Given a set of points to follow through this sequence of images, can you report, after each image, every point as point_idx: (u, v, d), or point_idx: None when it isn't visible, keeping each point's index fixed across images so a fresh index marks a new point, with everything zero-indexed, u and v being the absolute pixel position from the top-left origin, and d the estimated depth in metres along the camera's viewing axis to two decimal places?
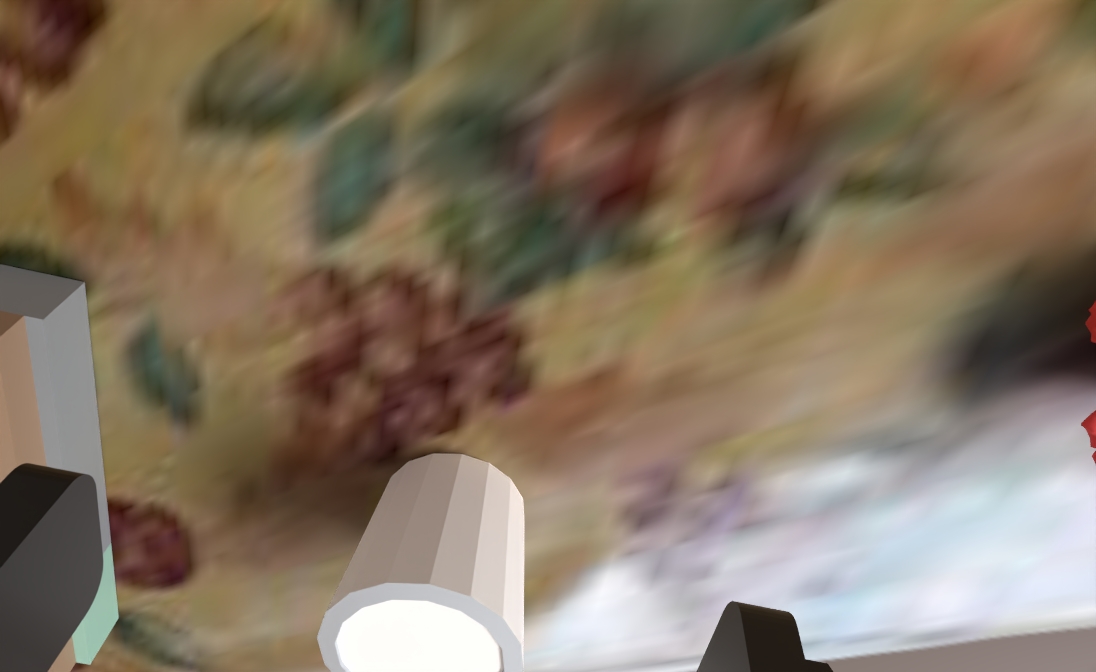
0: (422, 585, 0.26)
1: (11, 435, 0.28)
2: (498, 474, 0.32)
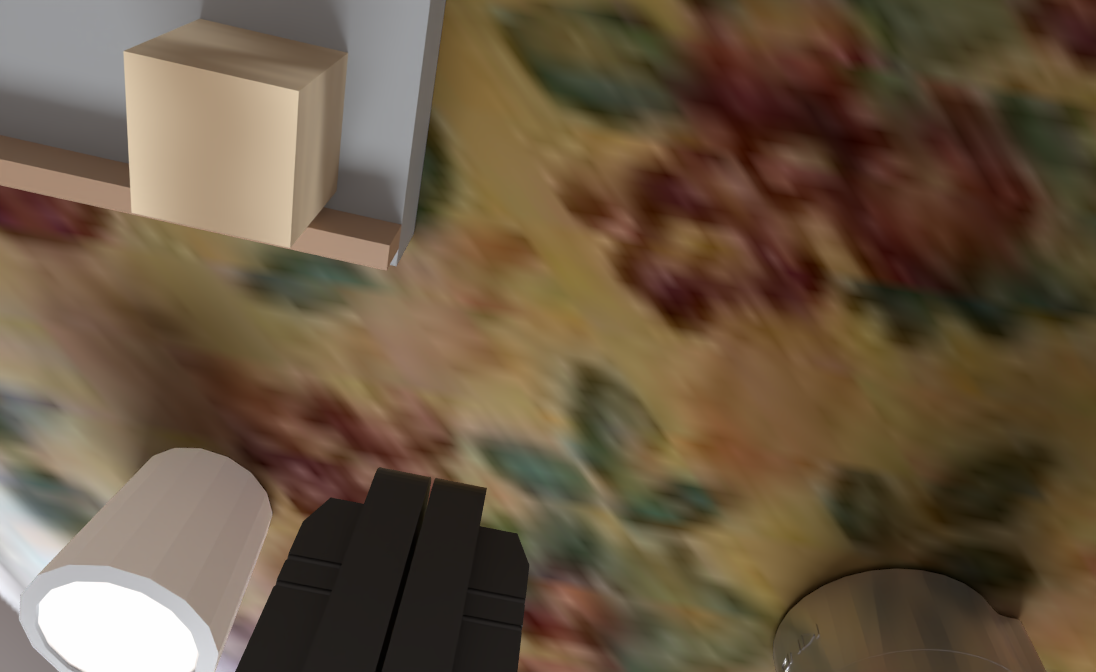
0: (214, 648, 0.29)
1: (254, 240, 0.24)
2: None
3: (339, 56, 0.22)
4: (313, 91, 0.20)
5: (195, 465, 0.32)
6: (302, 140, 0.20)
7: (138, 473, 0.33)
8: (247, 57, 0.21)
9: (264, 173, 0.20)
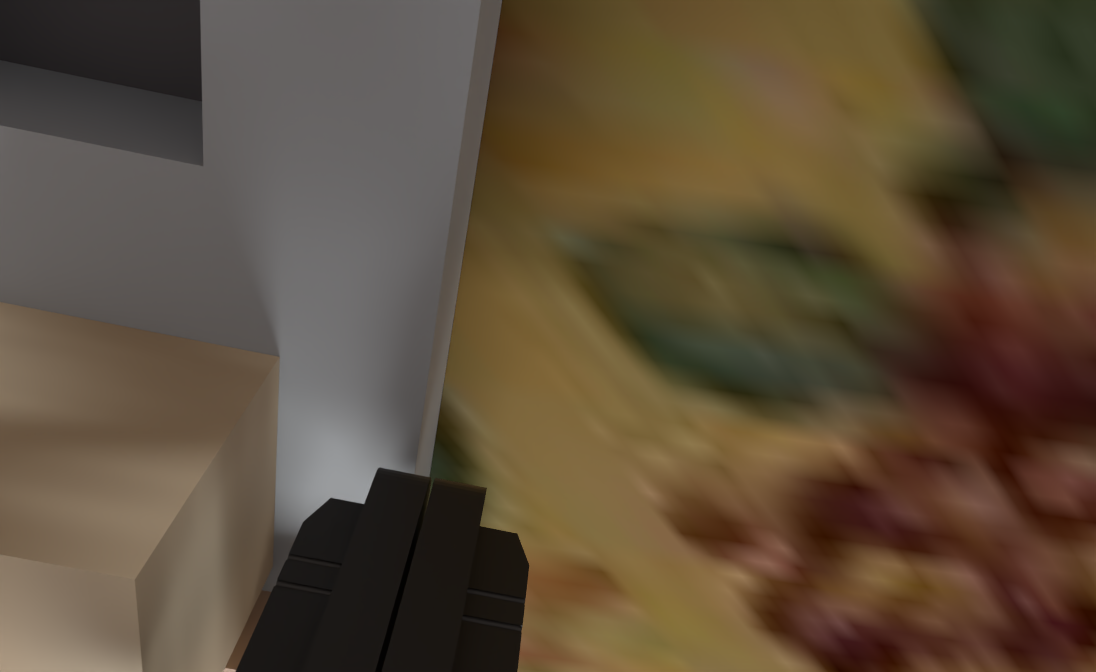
0: None
1: None
2: None
3: (258, 378, 0.11)
4: (186, 522, 0.09)
5: None
6: (164, 633, 0.09)
7: None
8: (41, 441, 0.09)
9: None
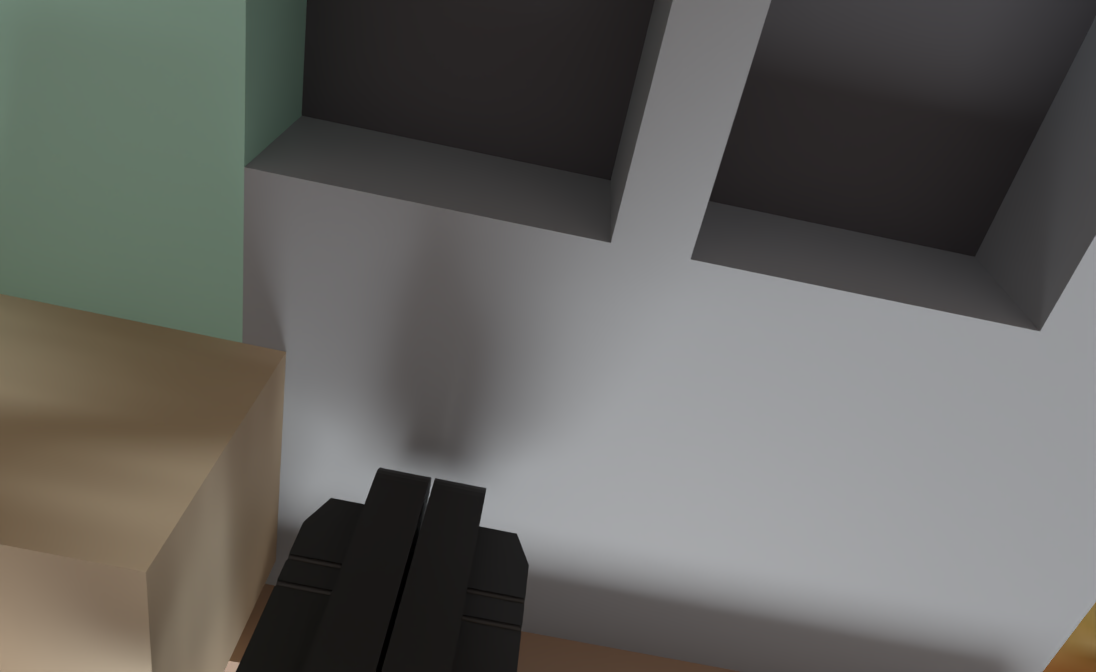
0: None
1: None
2: None
3: (266, 373, 0.11)
4: (195, 515, 0.09)
5: None
6: (172, 625, 0.09)
7: None
8: (51, 434, 0.09)
9: None
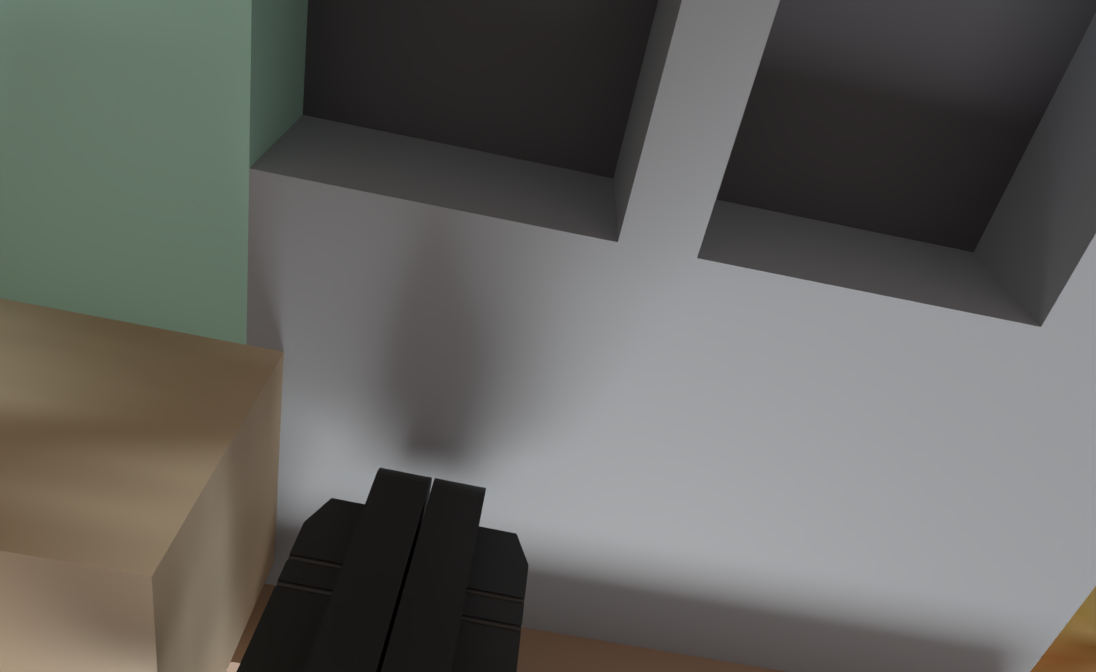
0: None
1: None
2: None
3: (264, 374, 0.11)
4: (199, 517, 0.09)
5: None
6: (177, 629, 0.09)
7: None
8: (49, 438, 0.09)
9: None
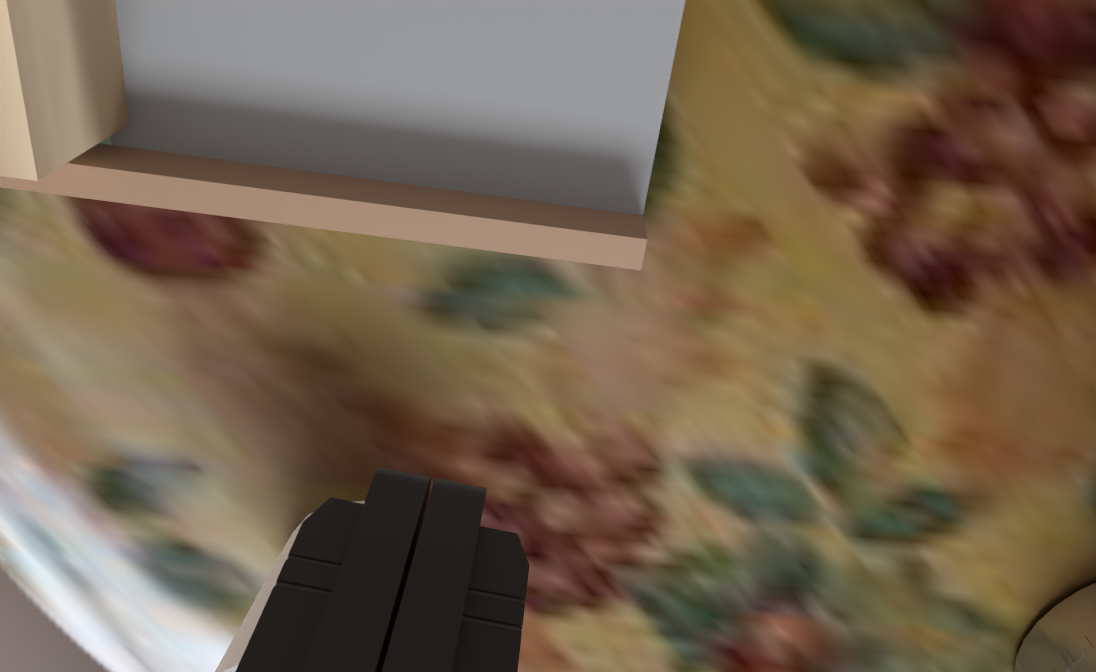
0: None
1: (481, 249, 0.20)
2: None
3: None
4: None
5: None
6: (28, 37, 0.16)
7: None
8: None
9: None
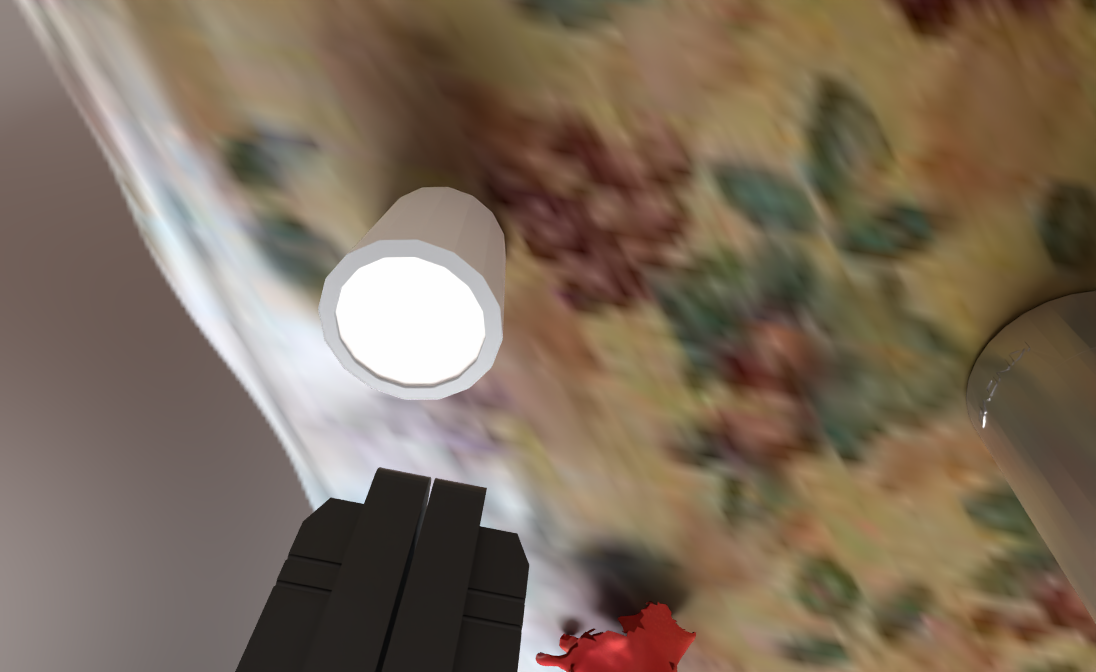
0: (499, 333, 0.31)
1: None
2: None
3: None
4: None
5: (449, 195, 0.35)
6: None
7: (396, 204, 0.35)
8: None
9: None
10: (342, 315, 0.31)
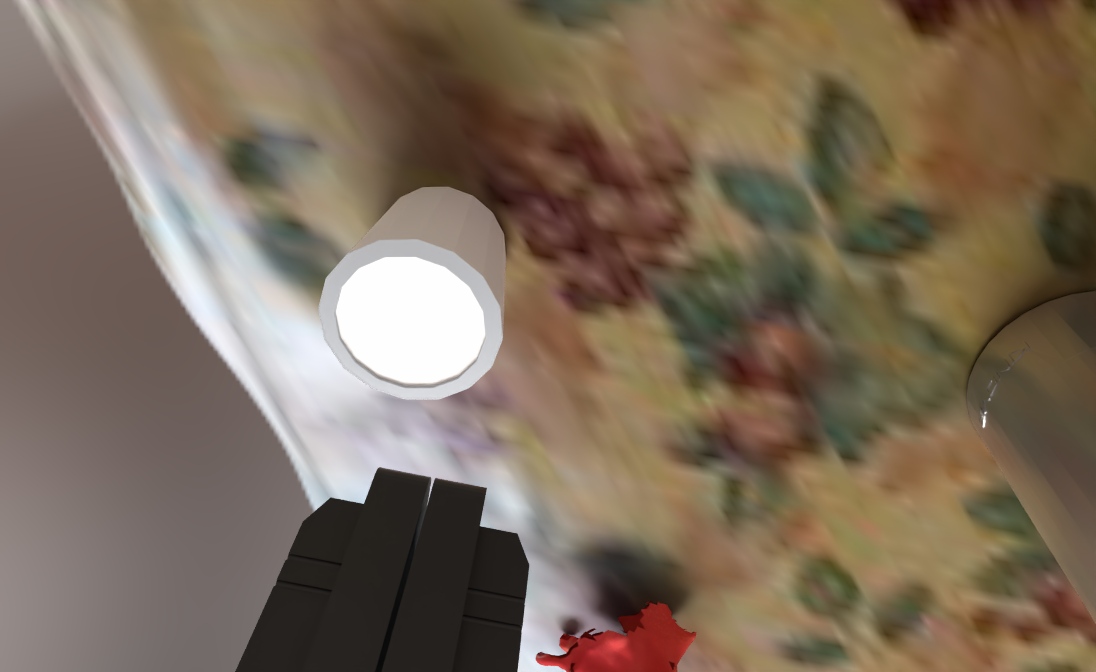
0: (499, 333, 0.31)
1: None
2: None
3: None
4: None
5: (449, 195, 0.35)
6: None
7: (396, 204, 0.35)
8: None
9: None
10: (342, 315, 0.31)
